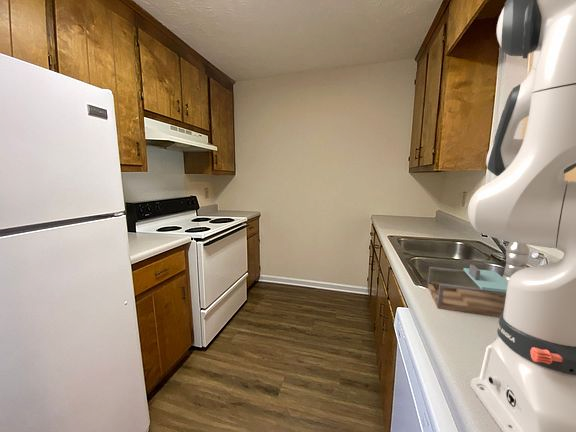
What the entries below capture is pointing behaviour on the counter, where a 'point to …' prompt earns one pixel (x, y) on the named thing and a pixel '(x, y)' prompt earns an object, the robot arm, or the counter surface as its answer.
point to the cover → (487, 279)
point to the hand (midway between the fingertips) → (534, 234)
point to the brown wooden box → (465, 297)
